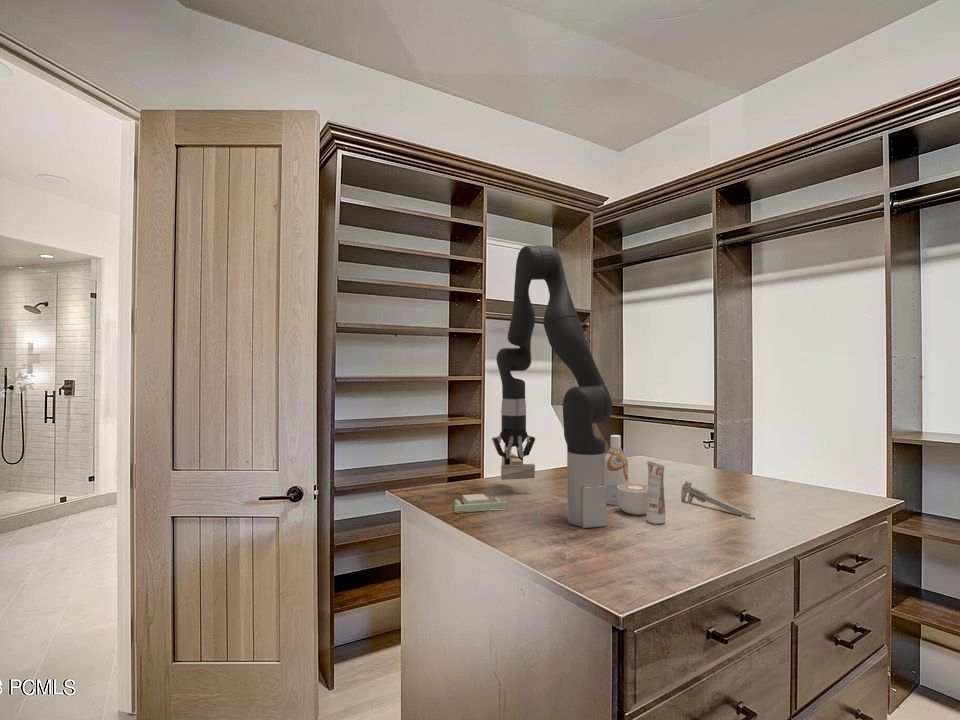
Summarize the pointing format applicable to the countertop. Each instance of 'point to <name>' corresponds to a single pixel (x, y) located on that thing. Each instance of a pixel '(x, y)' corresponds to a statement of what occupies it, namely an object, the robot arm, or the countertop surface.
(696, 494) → the caliper
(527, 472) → the grey rectangular block
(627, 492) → the cosmetic set
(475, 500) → the tile
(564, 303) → the robot arm
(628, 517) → the countertop surface
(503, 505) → the tile stop
